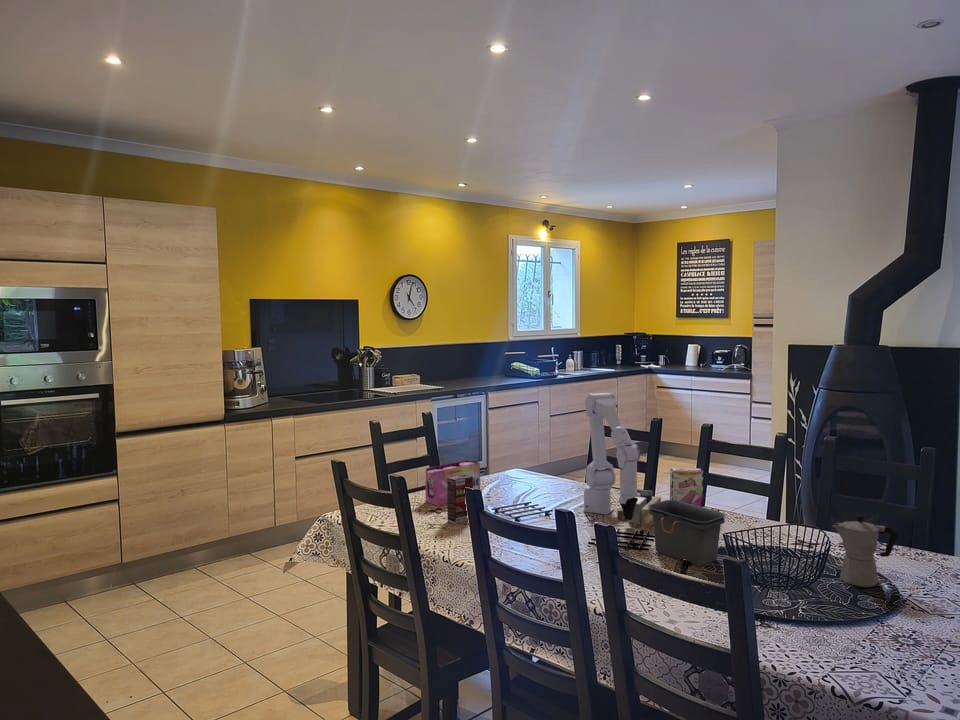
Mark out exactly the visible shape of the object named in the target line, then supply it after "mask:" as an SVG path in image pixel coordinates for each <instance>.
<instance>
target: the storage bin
mask: <svg viewBox="0 0 960 720" xmlns="http://www.w3.org/2000/svg"><path fill="white" fill-rule="evenodd" d="M648 507H649V508H650V510H649V513H650V514H651V515H653V522H654V524H653V531H654V532H653V533H654V535H653V536H654V546H655V551H656V552H657V553H661V554H664V555H666V556H670V557H673V558H675V559H678V560H681V559H687V560H688V561H690V562H691V563H690V564H692V565H694V566H697V567H700V566H705V565H707V564H710V563H713V562H715V561H717V559H718V552H719V542H720V533H721V527H722V526H721V525H724V524H726V523H725V522H726V521H725V517H726V516H727V514H725V513H724V512H721V511H716V510H713V509H710V508H707V507H704V506H703V507H700V506H696V505H692V504H689V503H685V502H681V501H677V500H670V499H667V500H663V501H662V500H661V502H658V503H654V504H650V505H649V506H648Z"/></svg>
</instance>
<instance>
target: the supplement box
mask: <svg viewBox="0 0 960 720" xmlns="http://www.w3.org/2000/svg"><path fill="white" fill-rule="evenodd" d="M465 487H470V488H473V477H472V476H469V475H461V476H456V477H451V478H447V503H446V504H447V522H448V523H450V524H454V525H457V524H460V523H466V522H468V518H467V511H466V504H465V493H464V489H465Z"/></svg>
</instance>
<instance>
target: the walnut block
mask: <svg viewBox="0 0 960 720" xmlns="http://www.w3.org/2000/svg"><path fill="white" fill-rule="evenodd" d="M616 512H617V514H616V515H617V517H616V518H617V520H622V519H624V520H623V521H626V520H625V517H624V513H623V509H622V507H621V506H620V508H618V510H617V511H616Z"/></svg>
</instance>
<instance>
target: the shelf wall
mask: <svg viewBox="0 0 960 720" xmlns="http://www.w3.org/2000/svg"><path fill="white" fill-rule="evenodd" d="M661 501H662V496H654V497H652V500H651V501H650V502H649V503H648V504H647V505H646V506H644V507H643V508H642V522H641V530H645V531H648V530H649V529H650V528H651V527H652V526H654V522H653V515H651V514H650V513H649V510H650V508H649V507H648V506H649V505H650V504H654V503H658V502H661Z"/></svg>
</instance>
